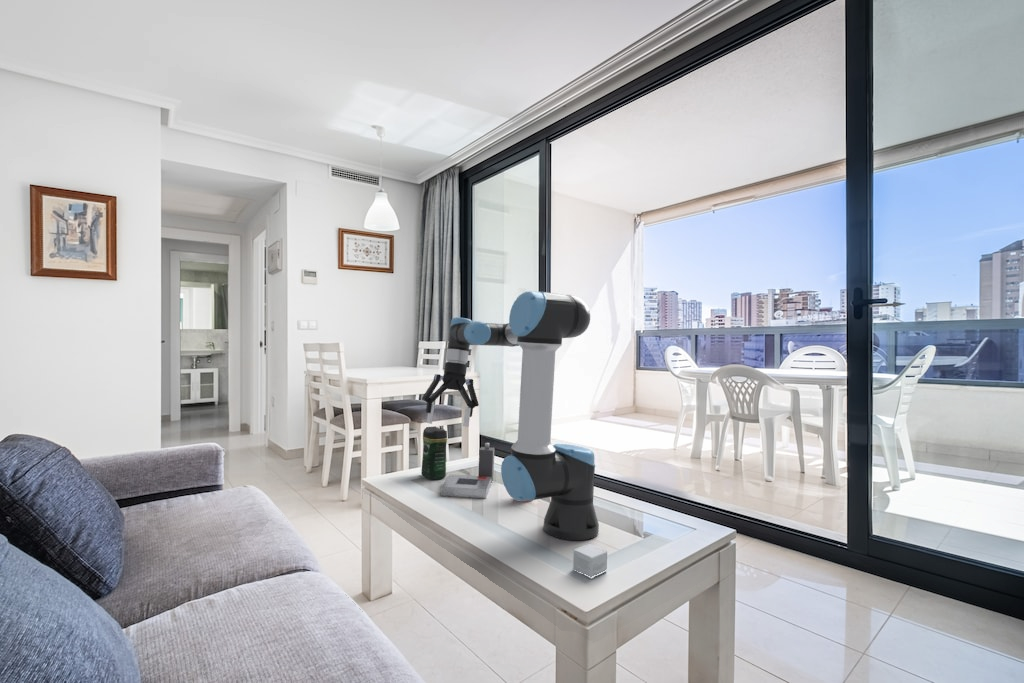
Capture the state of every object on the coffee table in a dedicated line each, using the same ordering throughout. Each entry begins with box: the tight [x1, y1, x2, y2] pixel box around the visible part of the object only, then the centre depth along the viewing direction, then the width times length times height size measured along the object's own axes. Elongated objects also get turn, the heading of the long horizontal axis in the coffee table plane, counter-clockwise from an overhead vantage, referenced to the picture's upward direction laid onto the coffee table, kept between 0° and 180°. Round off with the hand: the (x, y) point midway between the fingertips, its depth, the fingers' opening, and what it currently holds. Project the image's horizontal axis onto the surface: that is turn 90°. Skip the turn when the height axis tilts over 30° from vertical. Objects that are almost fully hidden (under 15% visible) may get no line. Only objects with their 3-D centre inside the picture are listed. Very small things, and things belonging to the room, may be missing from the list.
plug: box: [477, 442, 495, 484], centre depth 178 cm, size 5×5×14 cm
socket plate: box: [440, 474, 492, 499], centre depth 167 cm, size 15×15×3 cm
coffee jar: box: [421, 426, 448, 481], centre depth 182 cm, size 10×8×19 cm
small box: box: [572, 543, 608, 577], centre depth 110 cm, size 6×6×5 cm
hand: (447, 424), depth 164 cm, fingers open, 13 cm apart
